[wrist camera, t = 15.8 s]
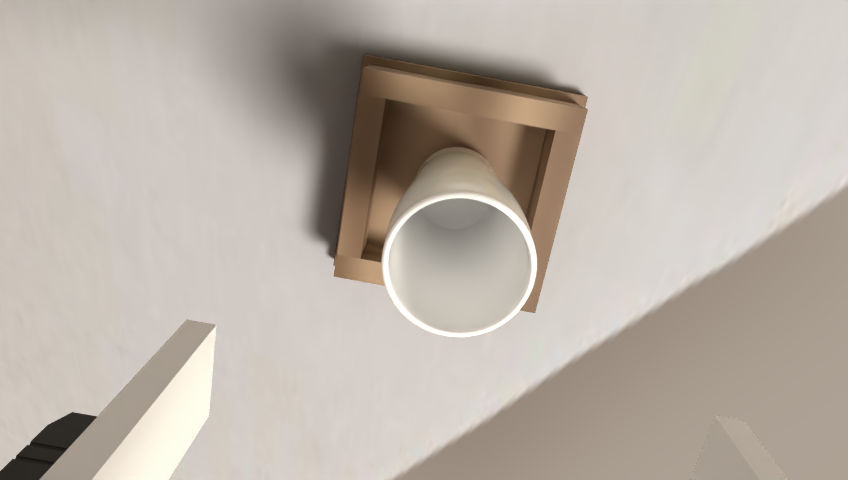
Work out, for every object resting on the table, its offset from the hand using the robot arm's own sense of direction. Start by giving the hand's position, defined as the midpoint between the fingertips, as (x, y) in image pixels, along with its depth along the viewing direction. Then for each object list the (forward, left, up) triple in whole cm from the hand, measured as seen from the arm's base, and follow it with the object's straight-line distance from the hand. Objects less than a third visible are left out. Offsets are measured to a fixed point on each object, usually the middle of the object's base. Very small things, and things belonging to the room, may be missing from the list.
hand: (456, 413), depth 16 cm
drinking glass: (0, 0, -26) cm, 26 cm away
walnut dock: (0, 0, -27) cm, 27 cm away
